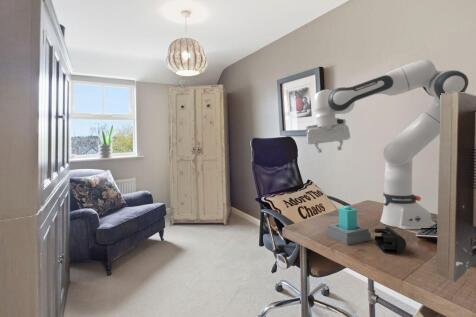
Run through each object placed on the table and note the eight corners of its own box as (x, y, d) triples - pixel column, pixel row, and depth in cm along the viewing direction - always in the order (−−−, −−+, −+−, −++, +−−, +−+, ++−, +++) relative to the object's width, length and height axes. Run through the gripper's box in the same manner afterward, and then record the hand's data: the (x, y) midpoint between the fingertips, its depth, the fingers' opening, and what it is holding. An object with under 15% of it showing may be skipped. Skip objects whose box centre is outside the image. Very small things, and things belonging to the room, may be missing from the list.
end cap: (406, 254, 91) (406, 235, 90) (384, 254, 92) (384, 235, 91) (393, 243, 101) (394, 226, 100) (374, 242, 102) (374, 226, 101)
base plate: (348, 230, 116) (348, 220, 115) (370, 239, 105) (370, 228, 104) (326, 234, 112) (326, 224, 111) (347, 245, 100) (346, 233, 100)
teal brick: (348, 227, 111) (347, 204, 110) (357, 231, 106) (357, 207, 106) (338, 229, 109) (338, 205, 109) (347, 233, 105) (347, 208, 104)
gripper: (305, 125, 126) (309, 153, 125) (349, 119, 123) (353, 148, 122) (303, 127, 132) (307, 154, 131) (345, 121, 129) (349, 149, 129)
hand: (329, 151), depth 127 cm, fingers open, 8 cm apart
